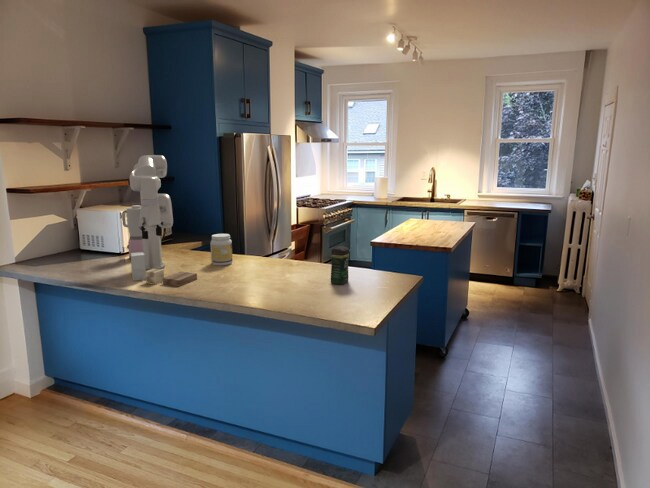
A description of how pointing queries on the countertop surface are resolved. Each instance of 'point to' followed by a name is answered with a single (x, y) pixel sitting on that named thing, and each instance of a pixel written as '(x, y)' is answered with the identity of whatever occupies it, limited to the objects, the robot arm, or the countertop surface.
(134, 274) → the small box
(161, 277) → the maple cube
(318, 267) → the countertop surface
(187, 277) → the walnut board
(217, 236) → the supplement tub
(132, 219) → the blender
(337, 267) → the coffee jar
